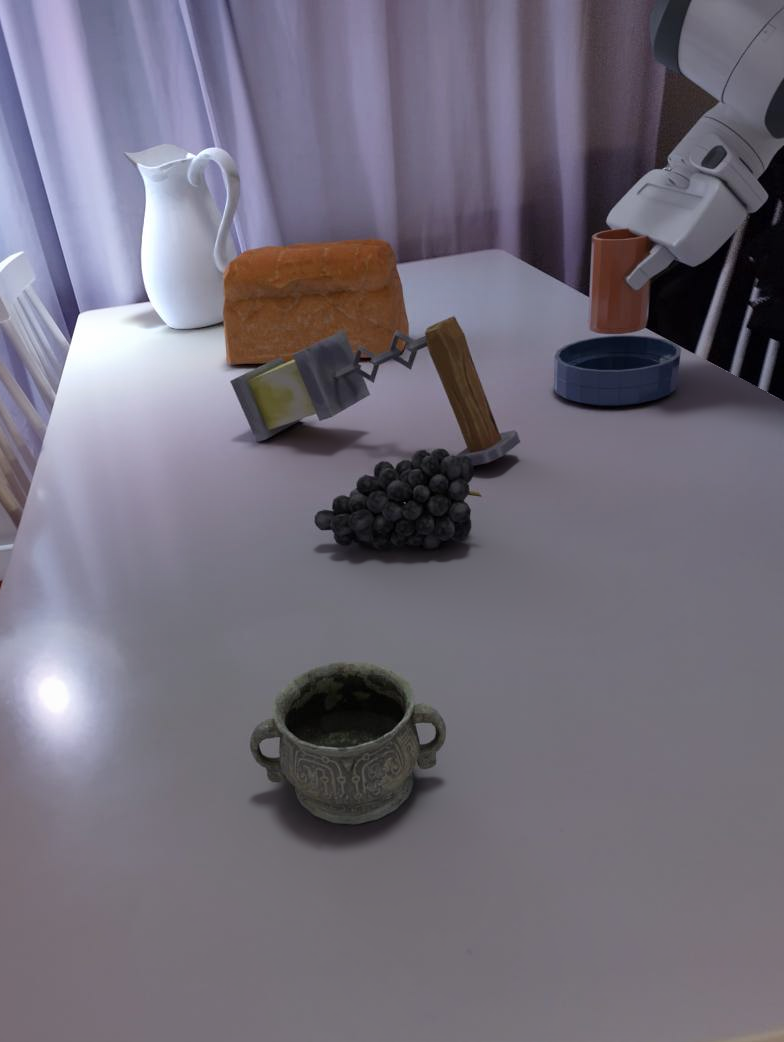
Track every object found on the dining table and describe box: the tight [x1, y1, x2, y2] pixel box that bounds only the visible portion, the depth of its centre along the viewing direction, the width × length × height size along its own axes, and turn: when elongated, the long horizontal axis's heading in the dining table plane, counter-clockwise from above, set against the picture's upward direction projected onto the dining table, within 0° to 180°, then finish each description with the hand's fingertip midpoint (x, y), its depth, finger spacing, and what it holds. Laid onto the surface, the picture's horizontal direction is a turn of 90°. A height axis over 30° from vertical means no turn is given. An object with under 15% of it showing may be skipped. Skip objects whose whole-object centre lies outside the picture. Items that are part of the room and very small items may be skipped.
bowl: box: [553, 334, 682, 407], centre depth 112 cm, size 14×14×4 cm
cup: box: [587, 228, 654, 335], centre depth 106 cm, size 6×6×10 cm
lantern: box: [229, 315, 521, 467], centre depth 104 cm, size 8×17×30 cm
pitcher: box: [123, 143, 241, 330], centre depth 158 cm, size 24×17×28 cm
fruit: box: [314, 448, 483, 551], centre depth 84 cm, size 9×8×15 cm
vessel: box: [249, 661, 447, 826], centre depth 57 cm, size 12×9×6 cm
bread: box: [223, 238, 410, 366], centre depth 138 cm, size 14×27×15 cm, turn 77°
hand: (615, 278), depth 106 cm, fingers closed on cup, 6 cm apart
